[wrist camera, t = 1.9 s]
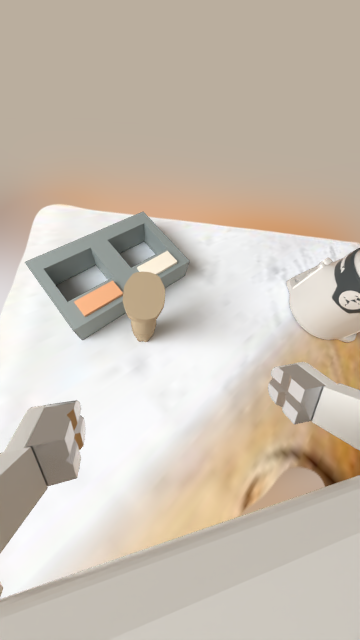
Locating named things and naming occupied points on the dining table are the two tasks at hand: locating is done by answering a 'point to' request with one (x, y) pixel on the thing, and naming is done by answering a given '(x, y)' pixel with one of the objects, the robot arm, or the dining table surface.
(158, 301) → the handle
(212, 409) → the dining table surface
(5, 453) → the robot arm
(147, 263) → the socket board
